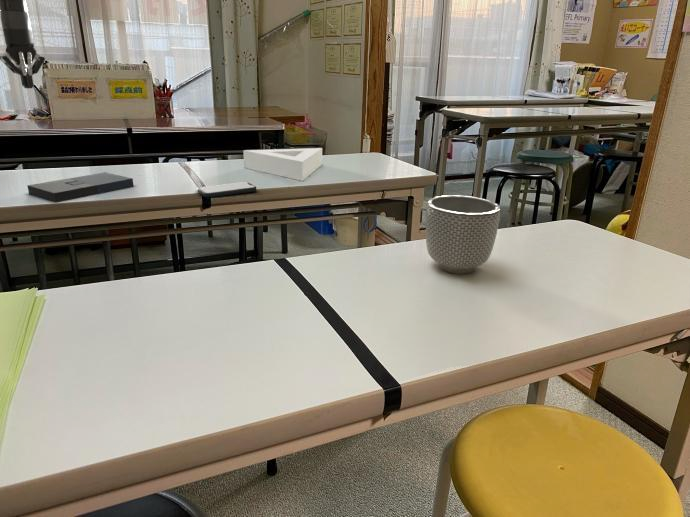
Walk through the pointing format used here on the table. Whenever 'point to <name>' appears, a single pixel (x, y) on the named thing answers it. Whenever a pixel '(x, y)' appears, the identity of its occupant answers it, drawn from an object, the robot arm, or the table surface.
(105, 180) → the slate pad
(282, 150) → the triangle block
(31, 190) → the black pad
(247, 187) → the phone case
